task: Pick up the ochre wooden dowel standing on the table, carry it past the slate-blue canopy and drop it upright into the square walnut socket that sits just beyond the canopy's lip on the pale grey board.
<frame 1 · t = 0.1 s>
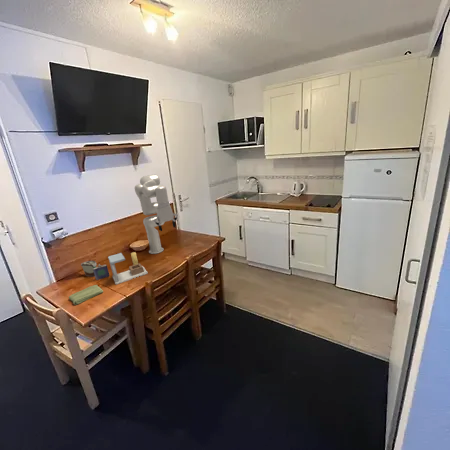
hand: (167, 228, 173), 31 cm above the table, fingers open, 9 cm apart
washcloth: (87, 296, 160), on the table
socket station: (130, 275, 180), on the table
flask: (103, 278, 181), on the table
peg: (136, 267, 192), on the table
food container: (93, 274, 189), on the table
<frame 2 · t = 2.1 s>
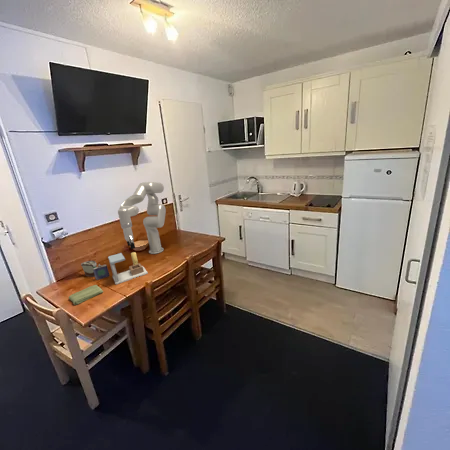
hand: (131, 246, 186), 17 cm above the table, fingers open, 9 cm apart
nothing on the table moved.
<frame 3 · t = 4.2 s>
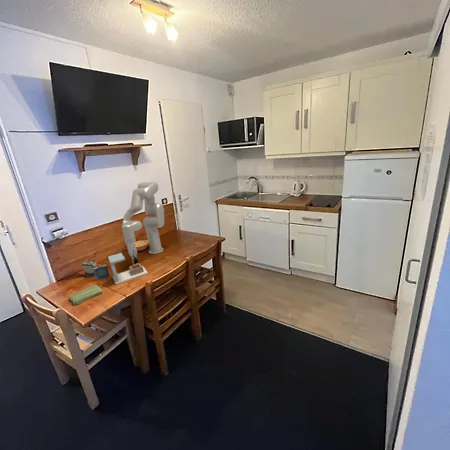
hand: (135, 262, 191), 4 cm above the table, fingers closed on peg, 3 cm apart
peg: (136, 267, 192), on the table, touching gripper
everything else where it was.
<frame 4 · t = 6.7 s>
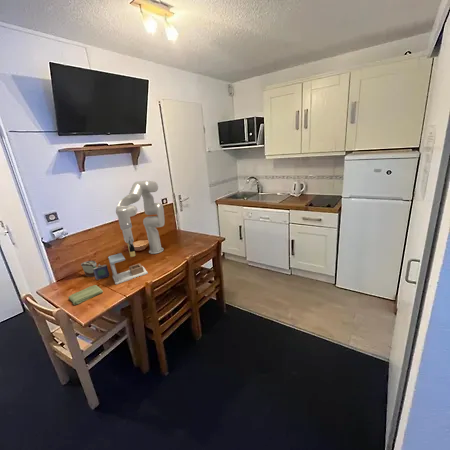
hand: (131, 250, 177), 18 cm above the table, fingers closed on peg, 3 cm apart
peg: (132, 255, 178), point 14 cm above the table, touching gripper
everything else where it was.
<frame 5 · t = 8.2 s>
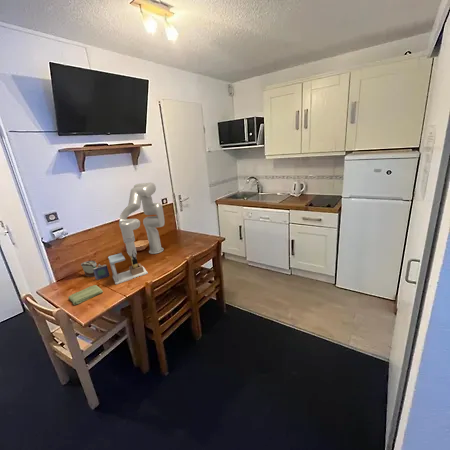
hand: (134, 262, 180), 8 cm above the table, fingers closed on peg, 3 cm apart
peg: (135, 268, 181), point 4 cm above the table, touching gripper
everything else where it was.
when the fingers open (6 cm above the table, at t = 9.4 s): peg stays where it is, resting on socket station.
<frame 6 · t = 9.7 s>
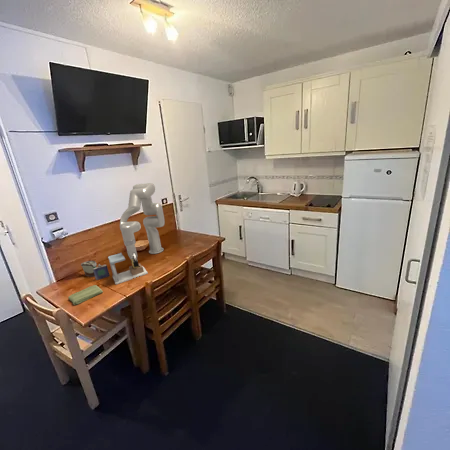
hand: (135, 264, 181), 7 cm above the table, fingers open, 6 cm apart
peg: (136, 271, 182), point 1 cm above the table, touching socket station
everything else where it was.
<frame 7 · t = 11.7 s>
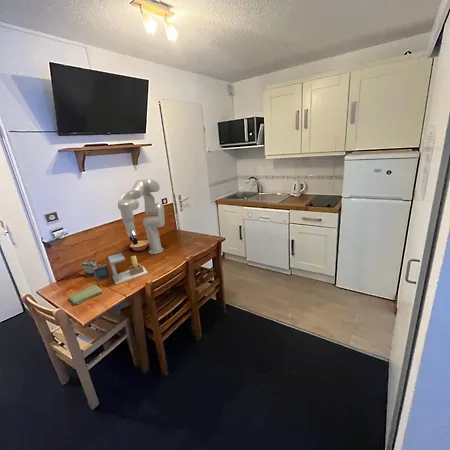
hand: (134, 242, 179), 23 cm above the table, fingers open, 9 cm apart
nothing on the table moved.
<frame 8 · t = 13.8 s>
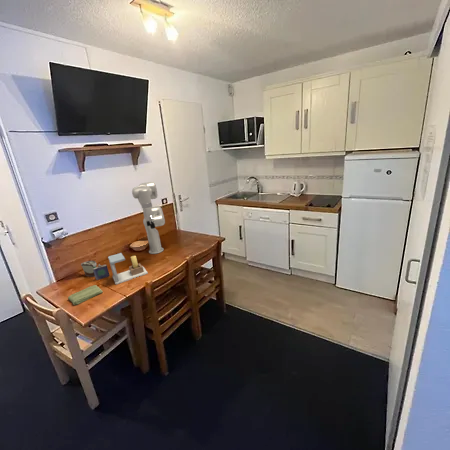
hand: (151, 227, 191), 28 cm above the table, fingers open, 9 cm apart
nothing on the table moved.
at the end: peg 0.1 cm from the target spot, point 1.0 cm above the table; peg tilted 0°; the gripper is holding nothing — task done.
